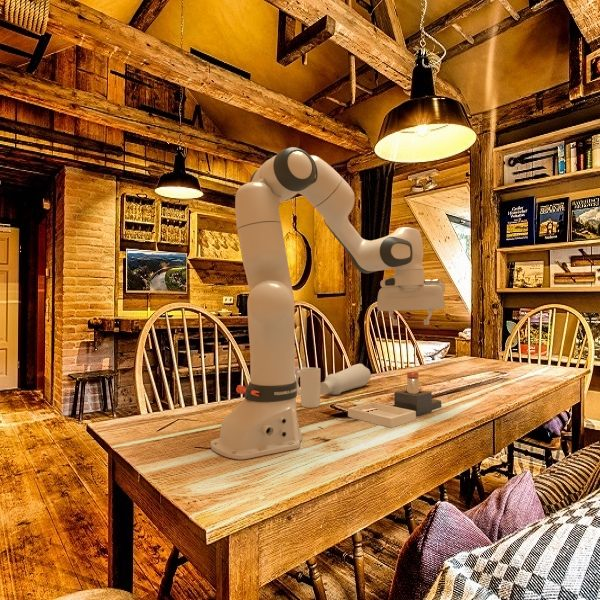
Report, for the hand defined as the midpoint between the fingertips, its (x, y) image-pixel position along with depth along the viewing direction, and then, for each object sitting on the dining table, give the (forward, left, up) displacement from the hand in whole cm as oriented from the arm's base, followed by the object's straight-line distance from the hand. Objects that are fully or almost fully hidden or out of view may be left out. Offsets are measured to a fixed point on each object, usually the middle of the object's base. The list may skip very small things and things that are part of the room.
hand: (410, 325), depth 129 cm
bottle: (+7, +36, -27) cm, 45 cm away
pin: (0, 0, -27) cm, 27 cm away
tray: (-13, +2, -27) cm, 30 cm away
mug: (-18, +29, -27) cm, 43 cm away
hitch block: (+4, 0, -27) cm, 27 cm away
